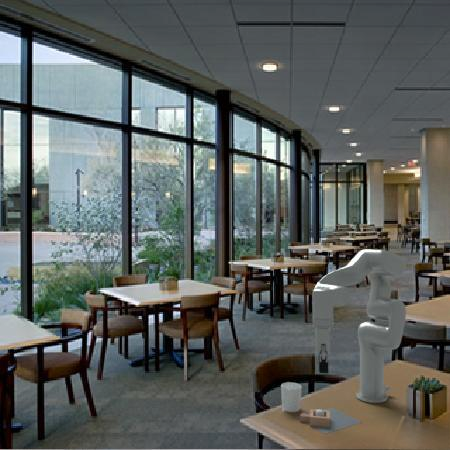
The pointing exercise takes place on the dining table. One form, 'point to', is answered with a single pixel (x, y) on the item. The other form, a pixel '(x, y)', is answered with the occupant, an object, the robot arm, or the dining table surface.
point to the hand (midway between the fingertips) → (323, 368)
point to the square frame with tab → (316, 418)
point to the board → (334, 420)
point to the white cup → (291, 397)
